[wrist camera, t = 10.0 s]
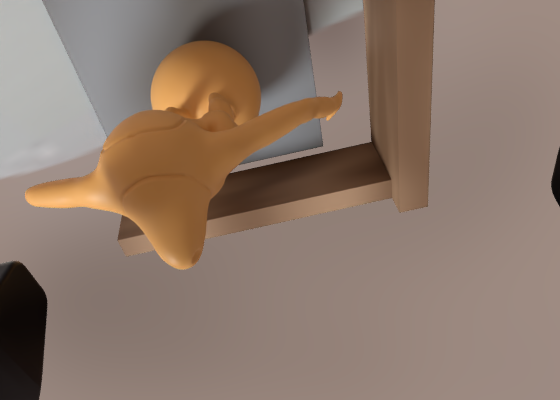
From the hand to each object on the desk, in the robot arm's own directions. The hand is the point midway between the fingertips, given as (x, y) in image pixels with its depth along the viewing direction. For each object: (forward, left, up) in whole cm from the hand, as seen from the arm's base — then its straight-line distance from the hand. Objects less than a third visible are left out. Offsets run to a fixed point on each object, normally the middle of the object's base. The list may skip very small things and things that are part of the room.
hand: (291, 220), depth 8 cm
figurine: (+2, +2, -13) cm, 13 cm away
